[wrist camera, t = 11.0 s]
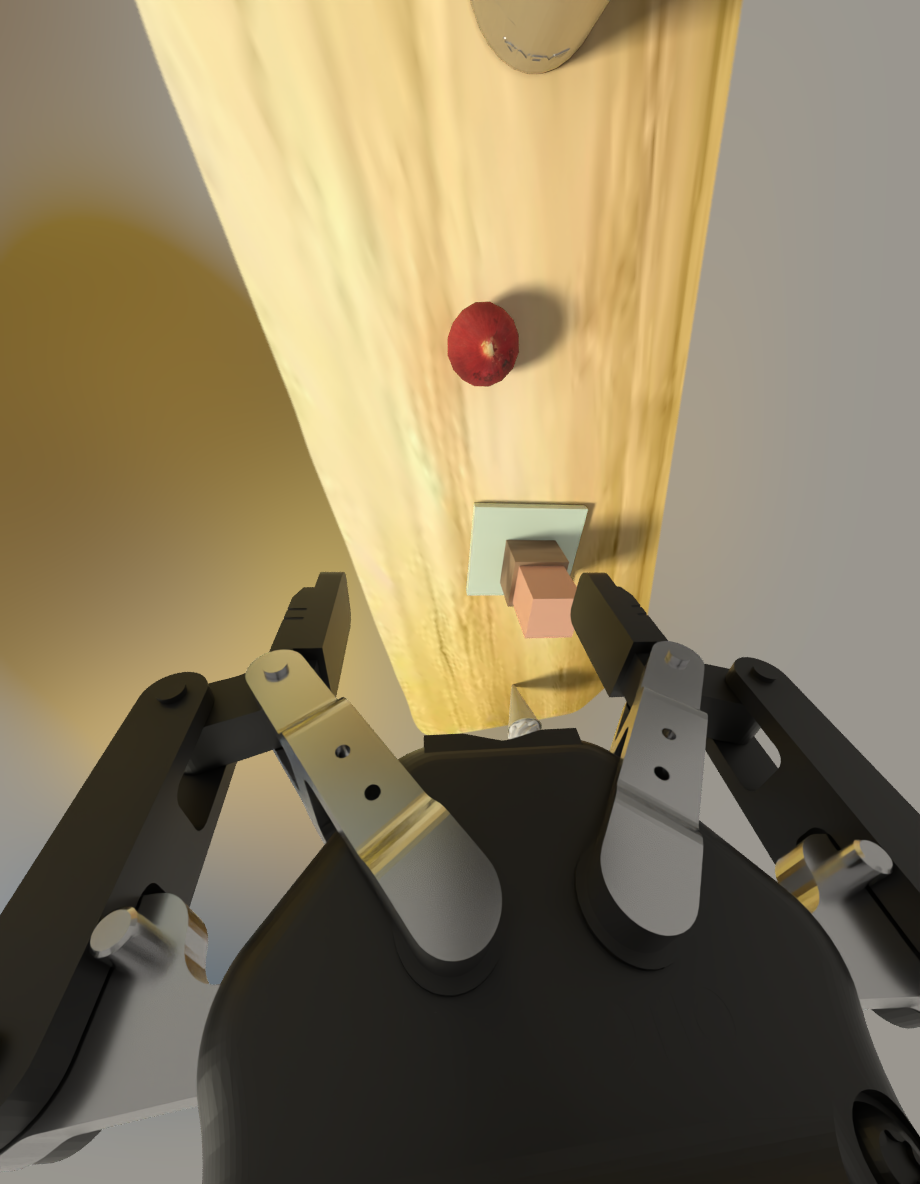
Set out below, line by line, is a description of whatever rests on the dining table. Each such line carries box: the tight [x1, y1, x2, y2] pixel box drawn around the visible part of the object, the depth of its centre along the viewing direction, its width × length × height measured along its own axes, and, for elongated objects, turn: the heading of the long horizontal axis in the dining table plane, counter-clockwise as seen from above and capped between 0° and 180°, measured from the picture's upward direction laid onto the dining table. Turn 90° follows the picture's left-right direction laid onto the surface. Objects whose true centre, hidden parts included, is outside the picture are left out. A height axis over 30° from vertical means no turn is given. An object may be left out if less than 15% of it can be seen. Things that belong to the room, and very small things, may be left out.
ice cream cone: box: [507, 685, 542, 739], centre depth 56 cm, size 5×5×15 cm
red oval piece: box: [448, 302, 519, 386], centre depth 31 cm, size 6×6×8 cm
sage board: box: [466, 503, 588, 595], centre depth 47 cm, size 12×13×1 cm
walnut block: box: [500, 540, 569, 606], centre depth 45 cm, size 6×6×5 cm
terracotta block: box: [513, 566, 577, 638], centre depth 41 cm, size 5×5×6 cm
